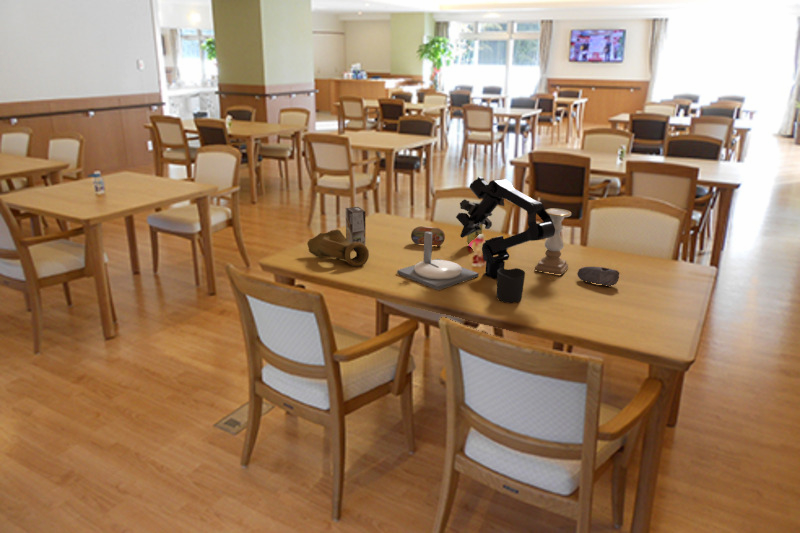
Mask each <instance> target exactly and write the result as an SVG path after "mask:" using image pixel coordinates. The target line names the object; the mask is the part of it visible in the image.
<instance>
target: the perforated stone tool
mask: <svg viewBox="0 0 800 533" xmlns="http://www.w3.org/2000/svg"><path fill="white" fill-rule="evenodd" d="M576 275H577V277H578V278H579V279H580V280H581V281H582V280H584V281H587V282H586V283H589V282H592V283H596V284H602V285H607V286H611V285H614V284H615V285H616V284H617V283H618V282H619V278H620V272H619V270H616V269H613V268H607V267H602V266H584V267H581V268H579V269H578V271H577V273H576ZM584 281H583V282H584ZM615 285H614V286H615ZM611 287H612V286H611Z"/></svg>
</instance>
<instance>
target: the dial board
mask: <svg viewBox="0 0 800 533" xmlns="http://www.w3.org/2000/svg"><path fill="white" fill-rule="evenodd" d="M434 260H441V258H435V259H434ZM415 265H416V264H414V265H410V266H407V267H403V268H400V269H397V270H396V272H397V275H399V274H400V275H399V276H402V277H404V278H406V279H409V280H411V279H412V281H414V282H416V281H417V283H419V284H421V285H424V286H426V287H429V288H431V289H434V290H436V291H440V289H441V290H444V289H446V287H447V288H449V286H450V287H452V285H453V286H455V285H454V284H456V285H458V284H457V283H459V284H461V283H460V282H462V283H464V282H463V281H465V282H467V281H466V280H468V281H470V280H469V279H471V280H473V279H472V278H474V279H476V278H475V277H477V278H479V272H476V271H474V270H471V269H468V268H465V267H462V266H461V268H462V273H461V275H460V276H458V277H456V278H452V279H443V280H439V279H429V278H425V277H422V276H419V275H417V274H416V273H415ZM443 288H444V289H443Z"/></svg>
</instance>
